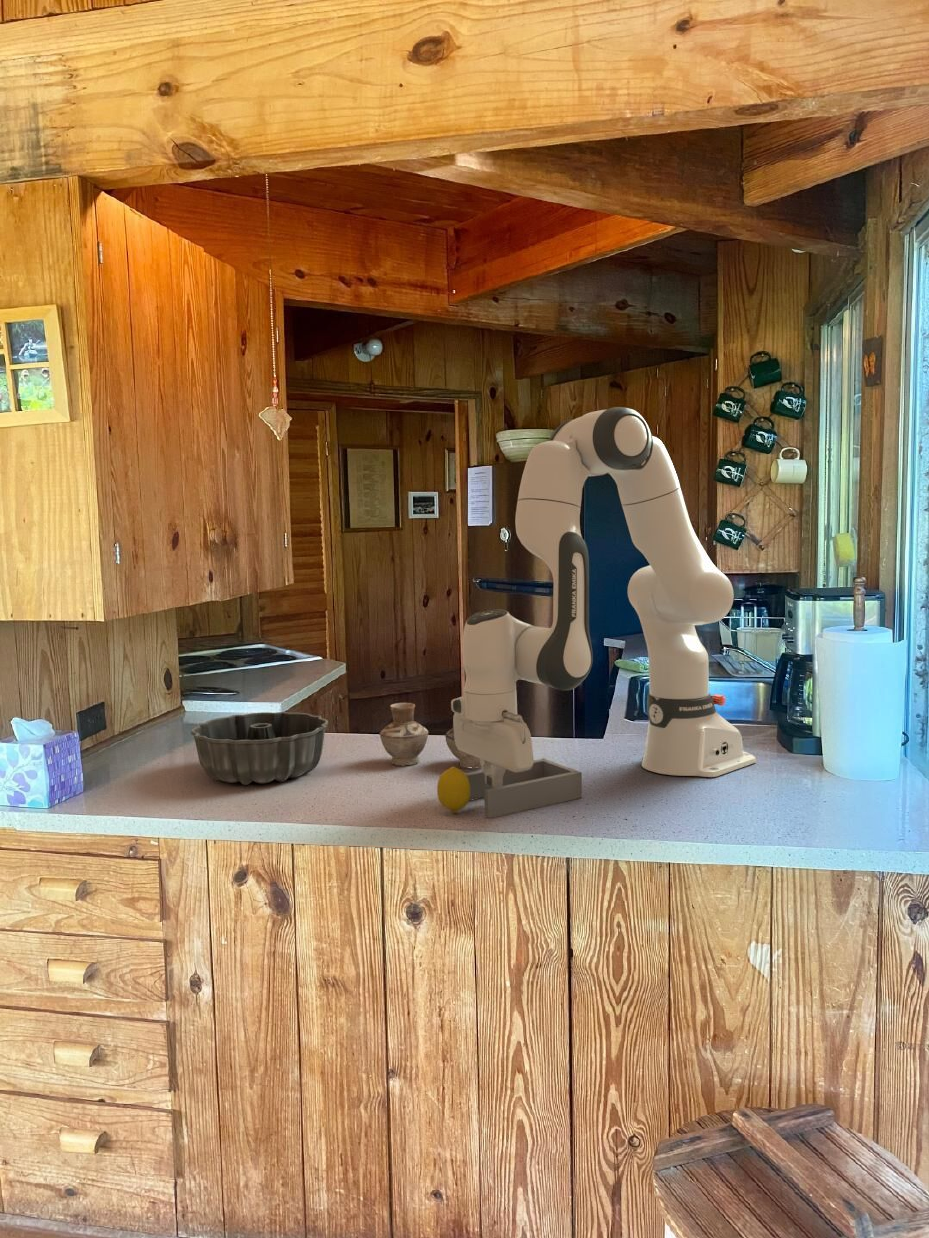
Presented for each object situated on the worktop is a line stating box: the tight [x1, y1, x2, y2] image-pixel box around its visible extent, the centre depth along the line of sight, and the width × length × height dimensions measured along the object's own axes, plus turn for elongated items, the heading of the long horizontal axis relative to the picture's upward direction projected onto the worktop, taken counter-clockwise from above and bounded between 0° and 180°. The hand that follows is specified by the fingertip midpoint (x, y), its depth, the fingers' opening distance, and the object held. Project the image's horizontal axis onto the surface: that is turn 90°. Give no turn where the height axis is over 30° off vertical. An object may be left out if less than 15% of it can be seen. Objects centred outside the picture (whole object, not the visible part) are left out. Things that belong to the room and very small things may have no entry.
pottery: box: [379, 702, 481, 769], centre depth 184 cm, size 11×25×12 cm, turn 77°
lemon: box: [436, 765, 470, 814], centre depth 153 cm, size 6×6×8 cm
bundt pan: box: [190, 711, 329, 786], centre depth 182 cm, size 26×26×10 cm
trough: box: [465, 758, 583, 819], centre depth 160 cm, size 19×11×4 cm, turn 120°
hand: (494, 785), depth 157 cm, fingers closed
